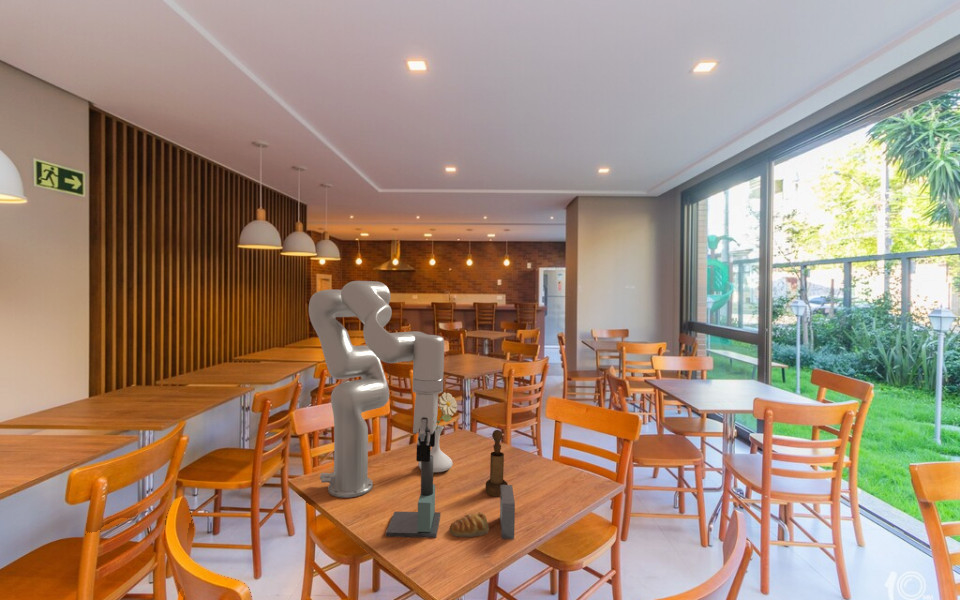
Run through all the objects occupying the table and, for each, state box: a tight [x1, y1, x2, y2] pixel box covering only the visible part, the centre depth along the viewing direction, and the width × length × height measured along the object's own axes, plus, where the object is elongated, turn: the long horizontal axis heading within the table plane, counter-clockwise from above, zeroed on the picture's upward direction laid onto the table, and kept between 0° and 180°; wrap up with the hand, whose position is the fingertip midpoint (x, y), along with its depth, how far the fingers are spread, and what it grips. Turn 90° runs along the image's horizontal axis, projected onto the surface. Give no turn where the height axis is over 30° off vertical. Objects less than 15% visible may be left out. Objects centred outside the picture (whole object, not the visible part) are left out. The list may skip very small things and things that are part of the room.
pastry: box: [448, 511, 490, 538], centre depth 107 cm, size 9×7×4 cm
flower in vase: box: [417, 392, 458, 473], centre depth 145 cm, size 13×11×25 cm
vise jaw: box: [417, 455, 436, 532], centre depth 109 cm, size 3×10×16 cm, turn 179°
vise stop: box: [499, 484, 516, 540], centre depth 109 cm, size 3×10×8 cm, turn 179°
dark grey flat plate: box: [385, 511, 441, 539], centre depth 109 cm, size 12×10×1 cm
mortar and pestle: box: [484, 429, 509, 497], centre depth 129 cm, size 7×6×18 cm
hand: (425, 453), depth 109 cm, fingers open, 9 cm apart
